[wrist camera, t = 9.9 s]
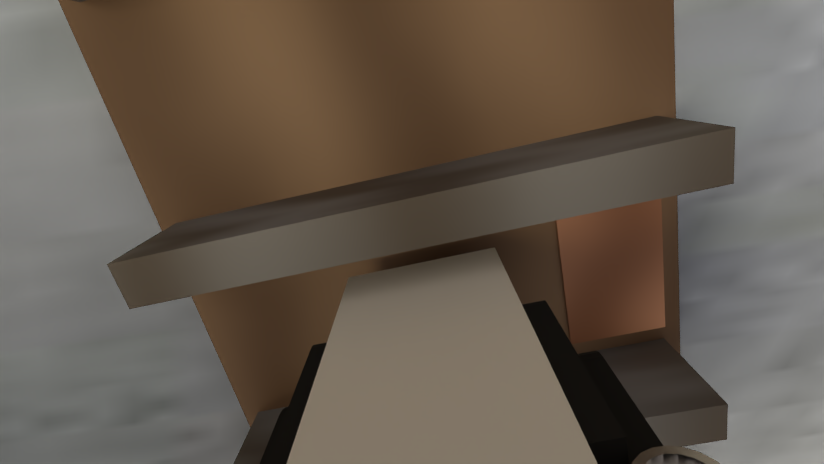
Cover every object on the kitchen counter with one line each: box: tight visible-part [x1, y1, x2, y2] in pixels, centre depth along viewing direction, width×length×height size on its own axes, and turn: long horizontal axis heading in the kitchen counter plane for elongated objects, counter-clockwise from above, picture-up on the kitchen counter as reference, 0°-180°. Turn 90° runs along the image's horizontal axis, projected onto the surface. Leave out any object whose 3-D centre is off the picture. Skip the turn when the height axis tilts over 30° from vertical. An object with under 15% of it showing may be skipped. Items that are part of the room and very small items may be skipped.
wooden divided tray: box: [58, 0, 735, 464], centre depth 13 cm, size 15×23×4 cm, turn 13°
